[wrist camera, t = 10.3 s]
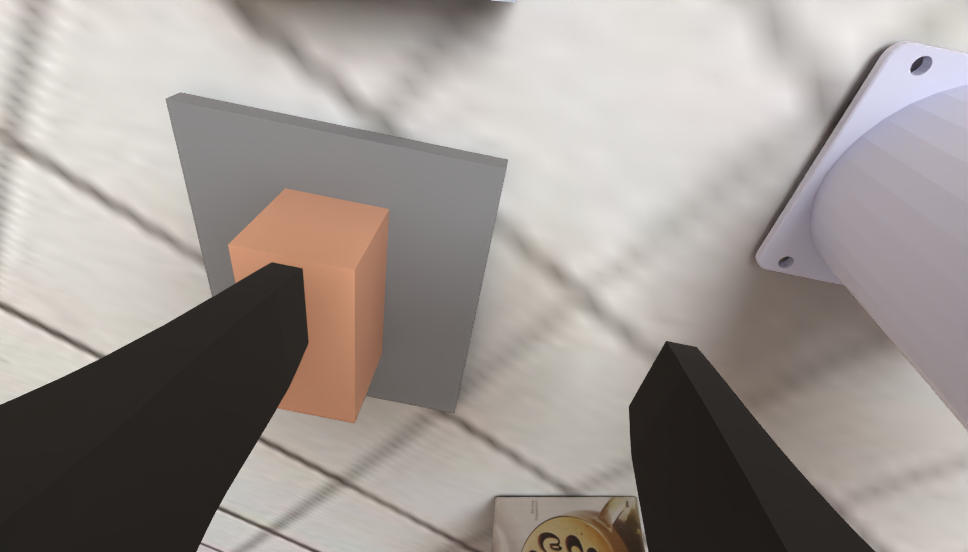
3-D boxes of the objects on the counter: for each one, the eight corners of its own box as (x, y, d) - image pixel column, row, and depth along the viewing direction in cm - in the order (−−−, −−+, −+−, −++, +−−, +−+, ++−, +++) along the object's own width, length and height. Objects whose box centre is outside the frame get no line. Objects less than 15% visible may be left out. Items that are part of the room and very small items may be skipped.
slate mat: (507, 159, 17) (506, 168, 16) (456, 401, 25) (454, 413, 25) (180, 92, 17) (165, 98, 16) (237, 357, 25) (229, 369, 25)
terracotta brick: (285, 188, 18) (227, 244, 15) (389, 209, 18) (354, 269, 15) (300, 337, 23) (259, 404, 19) (381, 353, 23) (354, 423, 19)
